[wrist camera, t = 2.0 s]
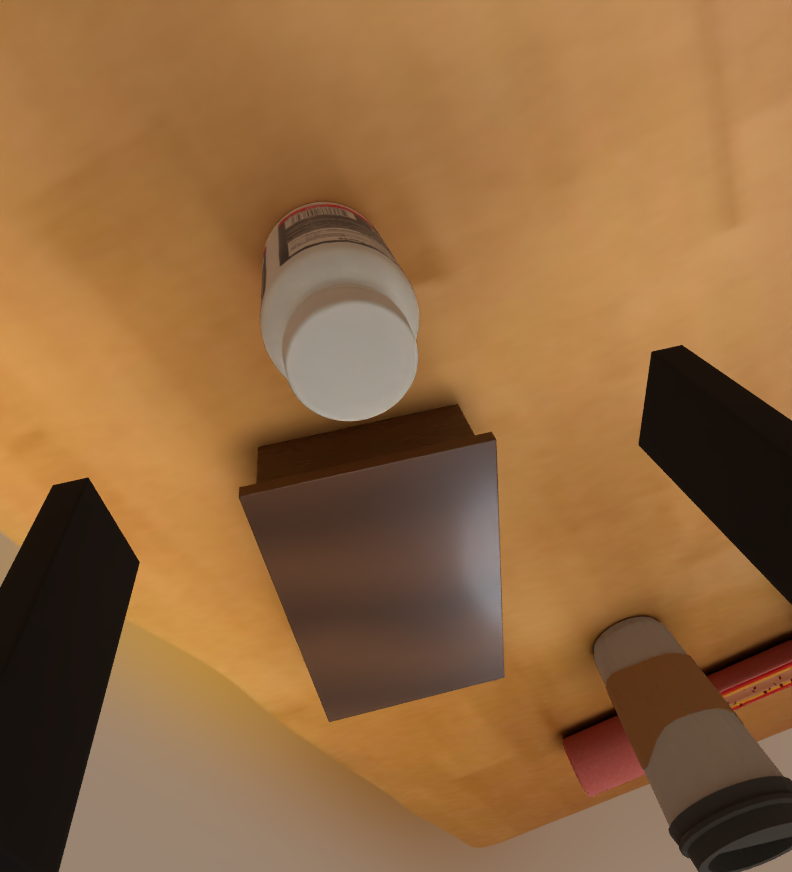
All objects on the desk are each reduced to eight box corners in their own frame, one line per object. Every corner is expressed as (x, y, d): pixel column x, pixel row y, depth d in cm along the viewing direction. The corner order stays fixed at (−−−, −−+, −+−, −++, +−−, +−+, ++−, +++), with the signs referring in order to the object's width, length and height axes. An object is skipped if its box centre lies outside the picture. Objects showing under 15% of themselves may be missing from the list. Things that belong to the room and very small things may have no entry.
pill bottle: (349, 341, 26) (382, 463, 18) (241, 289, 24) (227, 403, 16) (408, 239, 24) (476, 328, 16) (296, 172, 22) (312, 236, 14)
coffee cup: (659, 661, 49) (787, 862, 37) (570, 677, 47) (673, 890, 35) (687, 598, 44) (846, 805, 32) (590, 614, 43) (717, 836, 31)
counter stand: (242, 440, 28) (238, 496, 25) (468, 391, 29) (496, 439, 26) (323, 661, 40) (329, 722, 36) (483, 622, 41) (504, 677, 37)
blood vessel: (1001, 536, 48) (1069, 580, 43) (991, 568, 50) (1054, 613, 46) (556, 731, 53) (580, 787, 48) (570, 750, 55) (594, 805, 51)
